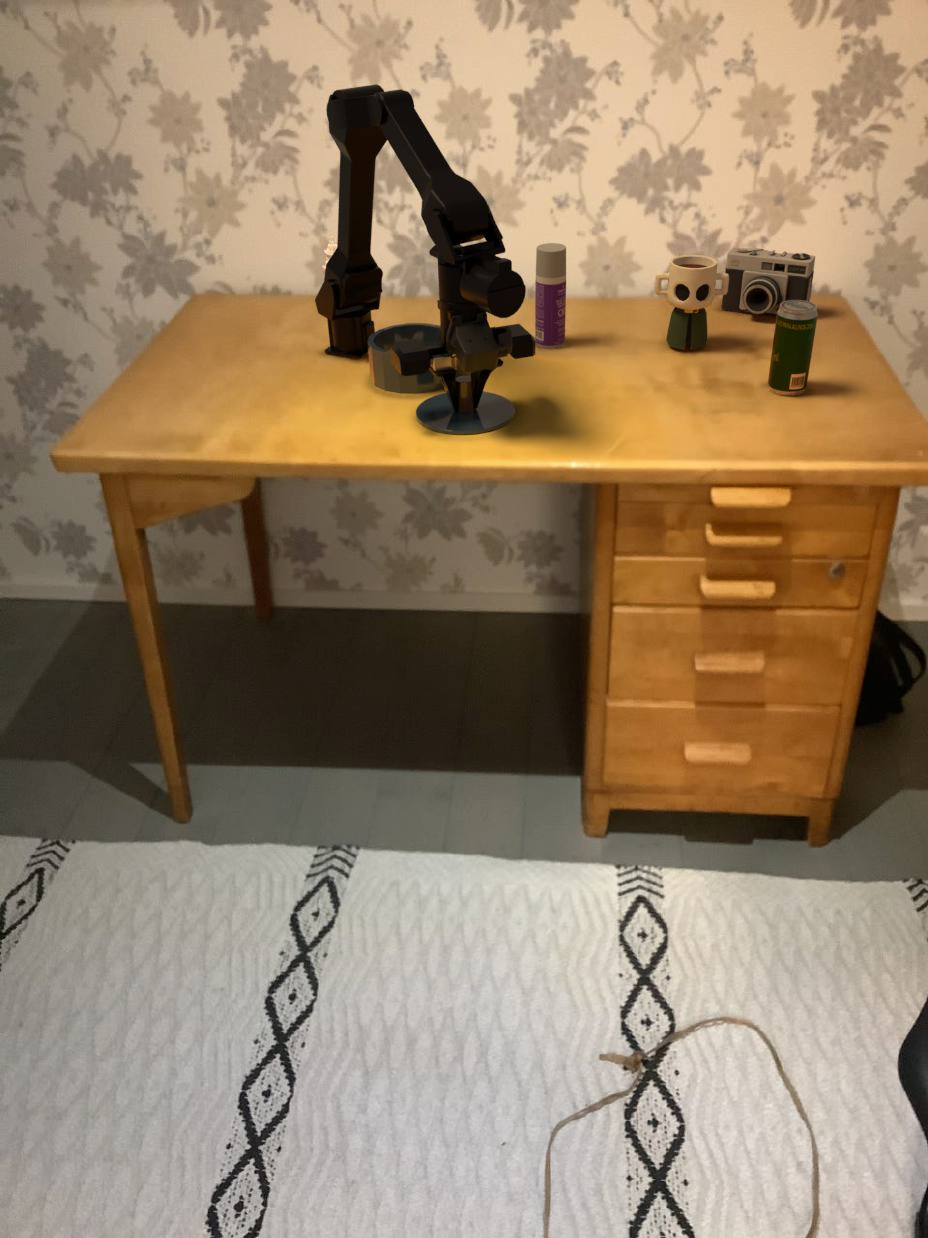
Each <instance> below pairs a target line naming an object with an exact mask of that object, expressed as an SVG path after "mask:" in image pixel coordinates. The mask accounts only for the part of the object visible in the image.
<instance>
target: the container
mask: <svg viewBox="0 0 928 1238" xmlns="http://www.w3.org/2000/svg"><path fill="white" fill-rule="evenodd" d="M535 250H536V253H535V255H536V256H535V280H534V281H535V283H534V284H535V287H534V288H535V289H534V290H535V295H534V296H535V297H534V300H535V302H534V303H535V305H534V308H535V309H534V311H535V312H534V313H535V314H534V320H535V321H534V326H535V327H534V339H535V343H536V344H535V347H538V348H540V349H545V350H554V349H559V348H560V349H561V348H562V347H564V346H565V344H566V309H567V307H566V305H567V246H566V245H565V244H562V243H557V242H546V243H541V244H538V245H537V246H536V249H535Z"/></svg>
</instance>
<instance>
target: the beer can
mask: <svg viewBox="0 0 928 1238" xmlns="http://www.w3.org/2000/svg"><path fill="white" fill-rule="evenodd" d="M817 310H818V305H817V304H816V303H814V302H812V301H804V300H789V301H784V302H782V303H781V304H780V308H779V310H778V311H777V317H775V326H774V332H773V341H772V348H771V355H770V364H769V370H768V379H767V386H768V389H769V391H770V392H772V393H773V394H775V395H779V396H785V397H795V396H799V395H801V394H803V393H804V392H805V390H806V388H807V386H808V380H809V374H810V368H811V362H812V354H813V348H814V343H815V342H814V341H815V334H816V330H817V322H818V316H819V314H818V311H817Z"/></svg>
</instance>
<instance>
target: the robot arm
mask: <svg viewBox="0 0 928 1238" xmlns="http://www.w3.org/2000/svg"><path fill="white" fill-rule="evenodd" d="M325 110H326V118H327V121H328V132H329V135H330V136H331V138H332V141H334V143H335V145H336V147H337V148H338V150H339V180H338V183H339V184H338V211H337V212H338V214H337V215H338V216H337V242H336V244H337V249H336V250H335V252H334V253H333V255H332V256H331V258H330V259H329V261H328V262H327V264H326V269H325V273H324V277H323V283H322V284H321V286H320V288H319V291H318V292H317V294H316V297H315V299H314V303H315V307H316V310H317V313H318V315H320V316H322V317H324V318H326V320H327V329H328V339H329V346H328V347H327V348H325V349H324V353H325V354H328V355H334V356H340V357H345V358H346V357H347V358H352V359H361V358H362V357H364V356H365V355H368V343H367V342H368V339H369V337H370V335H372V334H373V333H375V332H376V329H375V321H374V320H372V319H373V318H372V311H377V310H380V304H381V297H382V293H383V292H384V291H383V276H384V272H383V269H382V268H381V267H379V265H378V263H377V262H376V260H375V258H374V257H373V254H372V250H371V249H372V235H373V234H372V233H373V218H374V217H373V216H374V212H373V211H374V201H375V200H374V198H375V183H376V182H375V180H376V163H377V157H378V155H379V154H380V152H381V150H382V149H383V147H384V146H385V145H386V144H387V142H388V144H389V145H390V147H391V149H392V151H393V152H394V154H395V156H396V157H397V159H398V161H399V162H400V164H401V165H402V166H403V169H404V170H405V172H406V174H407V176H408V177H409V179H410V180H411V182H412V184H413V185H414V188H415V189H416V191H417V192H418V194H419V196H420V199H421V210H420V217H421V219H422V222H423V223H424V226H425V228H426V232H427V234H428V236H429V238H430V239H431V240H432V242H433V244H434V245H433V246H432V247H431V248H430V249H429V251H428V254H429V255H430V256H431V257H433V258H436V259H437V273H438V274H437V277H438V278H437V279H438V298H439V299H437V300H436V302H437V309H438V310H439V324H440V325H439V326H441V330H440V331H439V338H440V339H441V344H440V345H433V346H427V347H425V346H424V345H423V343H422V342H421V341H420V340H419V339H413V340H406V341H400V342H394V344H393V345H392V347H391V349H390V356H391V363H392V364H393V365H394V366H395V368H396V369H397V370H398V372H399V373H400V374H401V375H402V376H411V375H418V374H424V373H426V372H427V371H428V369H429V370H430V371H431V372H432V373H433V375H435V376H439V378H440V380H441V382H442V384H443V386H444V387H443V388H444V391H445V393H447V396H448V398H449V400H450V403H451V405H452V408H453V410H454V411H455V412H458V396H457V388H456V380H455V377H456V378H457V375H456V373H457V374H458V370H457V371H456V369H455V368H454V367H453V366H452V361H451V358H454V357H456V360H457V361H458V363H459V366H460V369H461V371H463V372H464V373H467V374H469V376H470V377H472V378H473V395H474V409H476V408H477V407H478V404H479V401H480V399H481V396H482V393H483V391H484V390H485V388H486V384H487V382H488V380H489V377H490V375H491V374H492V372H494V371H495V370H496V369H497V368H501V367H502V366H503V365H504V361H503V360H502V359H501V358H505V357H508V355H510V356H511V358H513V359H514V360H519V359H525V358H531V357H534V356H536V343H535V336H533V335H532V334H531V333H530V331H528V330H527V329H526V328H524V326H522V324H520V323H514V324H508V325H501V326H492V327H491V326H490V323H489V321H488V314H490V315H492V316H494V317H496V318H498V319H499V318H500V319H508V318H510V317H512V316H513V315H515V314H516V313H518V311H519V310H520V308H522V305H523V303H524V302H525V298H526V293H527V287H526V284H525V282H524V279H523V277H522V276H521V274H519V273H518V272H517V271H515V270H513V262H512V260H511V259H509V258H506V257H500V256H498V255H500V254H505V253H506V246H505V244H504V242H503V239H504V236H503V234H502V232H501V230H500V228H499V227H498V225H497V223H496V220H495V217H494V215H493V212H492V210H491V207H490V206H489V203H488V201H487V200H486V199H485V197H484V196H483V195H482V193H481V191H479V189H478V188H477V187H476V186H475V185H474V183H473V182H471V181H470V180H468V179H467V178H464V177H463V176H461V175H459V174H457V173H456V172H455V171H454V170H453V169H452V167H451V166H450V164H449V163H448V161H447V159H446V157H445V156H444V154H443V153H442V151H441V149H440V148H439V146H438V144H437V143H436V141H435V140H434V138H433V137H432V134H431V133H430V131H429V130H428V128H427V126H426V125H425V122H423V120H422V118H421V116H420V115H419V113H418V112H417V110H416V109H415V101H414V99H413V97H412V94H411V93H410V91H408V90H404V89H402V88H400V89H394V90H386V91H385V90H384V88H383V87H382V86H381V85H379V84H369V85H363V86H362V85H361V86H353V87H348V88H342V89H336V90H334V91H333V92H332V94H329V96H328V101H327V104H326V109H325ZM483 239H484V240H485V241H481V240H483ZM477 241H480V242H477ZM471 242H472V244H467V243H471ZM473 242H476V243H473ZM464 244H467V245H464Z"/></svg>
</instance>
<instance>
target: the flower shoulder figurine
mask: <svg viewBox="0 0 928 1238" xmlns="http://www.w3.org/2000/svg"><path fill="white" fill-rule="evenodd" d="M336 249H337V243H335V237H334V236H333V235H331V240H330V239H328V244H327V248H326V249H323V252H324V254H325V255H326V257H325V260H326V261H324V264H323V265H322V275H325V269H326V264H327V262H328V261H329V259H330V258H331V256H332V255H333V253H334V252H335V250H336Z"/></svg>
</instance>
